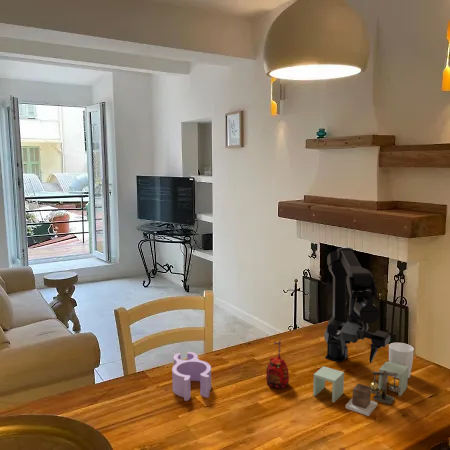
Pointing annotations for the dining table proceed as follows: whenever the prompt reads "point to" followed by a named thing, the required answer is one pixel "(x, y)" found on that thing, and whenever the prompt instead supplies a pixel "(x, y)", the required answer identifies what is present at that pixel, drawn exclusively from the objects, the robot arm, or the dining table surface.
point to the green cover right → (401, 373)
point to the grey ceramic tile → (362, 410)
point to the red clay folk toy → (277, 372)
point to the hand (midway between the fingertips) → (356, 358)
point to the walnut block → (361, 396)
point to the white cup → (401, 355)
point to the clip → (190, 375)
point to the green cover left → (330, 376)
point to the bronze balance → (384, 388)
